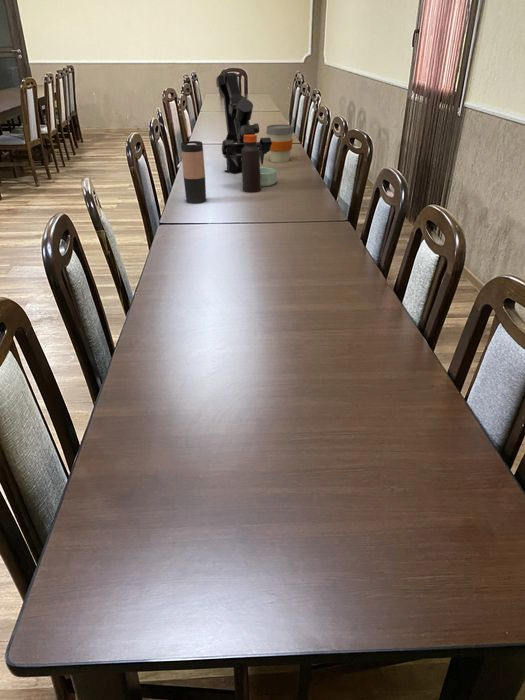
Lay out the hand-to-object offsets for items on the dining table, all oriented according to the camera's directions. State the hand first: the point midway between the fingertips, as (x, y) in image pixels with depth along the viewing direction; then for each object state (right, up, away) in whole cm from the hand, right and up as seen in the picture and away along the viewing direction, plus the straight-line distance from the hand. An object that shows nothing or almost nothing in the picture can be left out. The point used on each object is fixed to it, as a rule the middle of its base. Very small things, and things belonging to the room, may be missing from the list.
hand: (250, 165), depth 203 cm
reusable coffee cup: (+13, +20, +51) cm, 56 cm away
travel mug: (-20, -16, -8) cm, 26 cm away
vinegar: (0, -8, +4) cm, 9 cm away
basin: (+4, -3, +13) cm, 14 cm away
